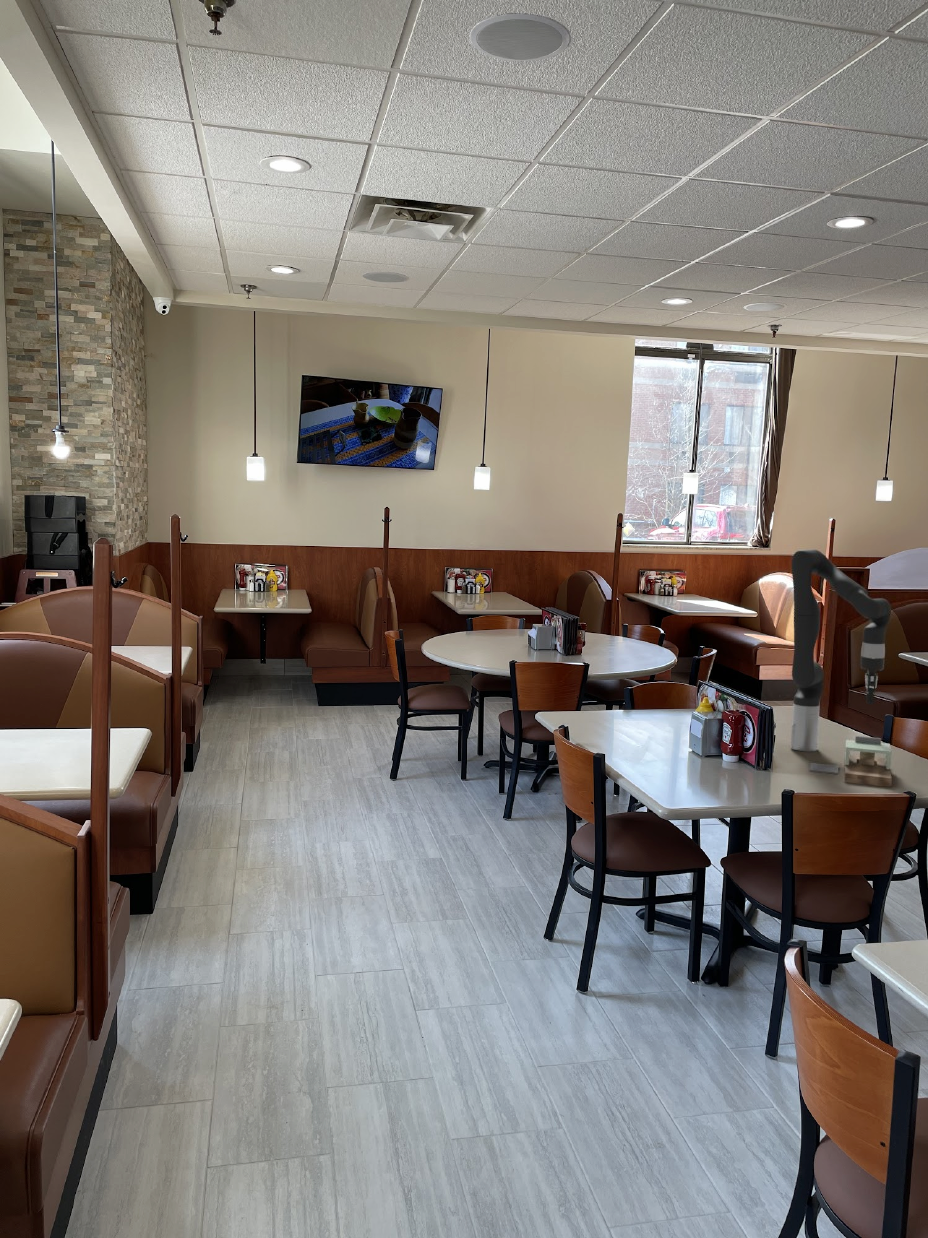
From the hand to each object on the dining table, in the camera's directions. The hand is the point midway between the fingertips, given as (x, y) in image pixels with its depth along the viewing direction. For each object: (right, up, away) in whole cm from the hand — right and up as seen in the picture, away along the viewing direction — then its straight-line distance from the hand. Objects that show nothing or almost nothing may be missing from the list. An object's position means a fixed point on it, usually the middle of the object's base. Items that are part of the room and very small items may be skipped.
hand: (869, 701), depth 316 cm
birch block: (-3, -22, -5) cm, 23 cm away
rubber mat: (-17, -23, -3) cm, 29 cm away
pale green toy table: (-4, -20, -7) cm, 22 cm away
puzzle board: (-5, -24, -9) cm, 26 cm away
